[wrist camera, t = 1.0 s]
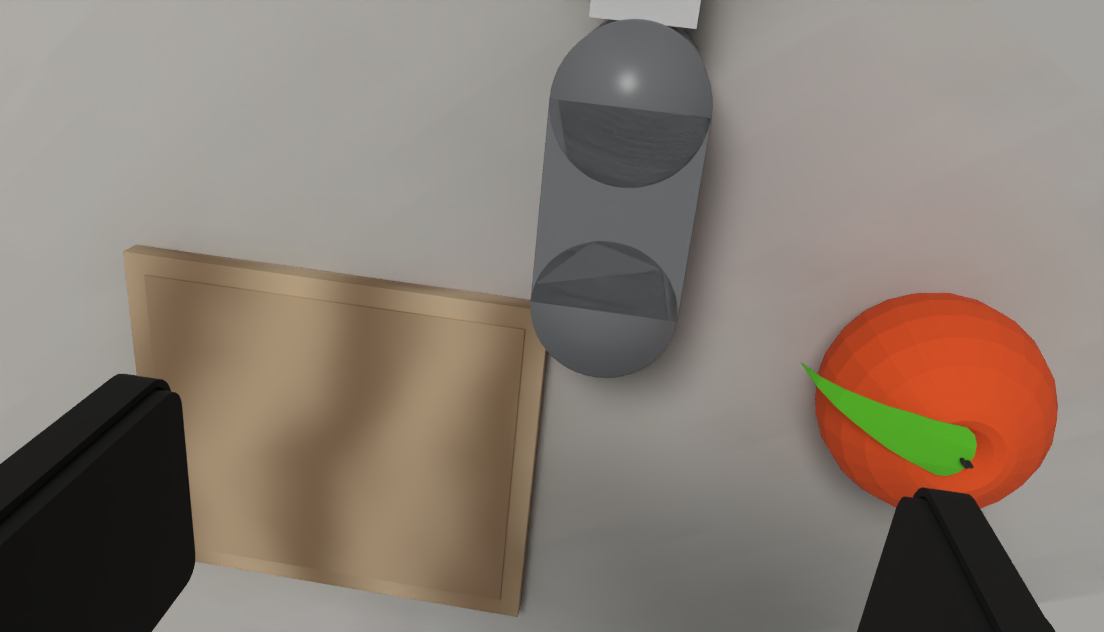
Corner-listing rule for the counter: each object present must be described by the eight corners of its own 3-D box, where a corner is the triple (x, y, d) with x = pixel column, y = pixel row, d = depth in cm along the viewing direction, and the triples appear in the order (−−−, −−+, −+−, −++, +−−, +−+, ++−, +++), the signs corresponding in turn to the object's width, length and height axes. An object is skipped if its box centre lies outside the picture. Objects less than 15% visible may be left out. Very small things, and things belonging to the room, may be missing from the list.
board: (552, 303, 31) (548, 312, 30) (520, 603, 36) (517, 618, 35) (135, 244, 32) (121, 252, 31) (166, 543, 37) (155, 556, 37)
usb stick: (666, 323, 30) (665, 387, 26) (546, 306, 31) (524, 366, 26) (729, -60, 25) (742, -66, 21) (585, -75, 26) (566, -83, 21)
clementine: (741, 390, 31) (759, 503, 24) (828, 220, 28) (874, 297, 22) (942, 467, 31) (1013, 600, 25) (1050, 305, 28) (1162, 407, 22)
